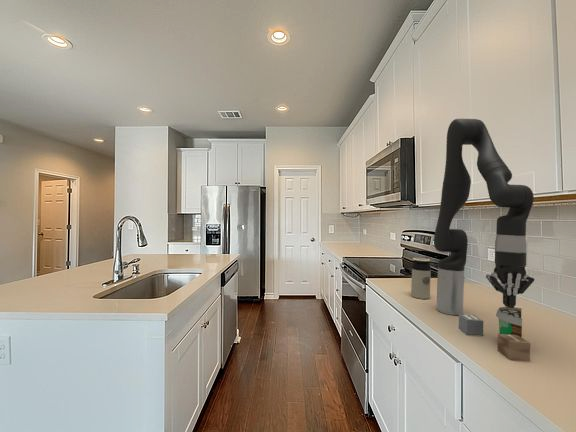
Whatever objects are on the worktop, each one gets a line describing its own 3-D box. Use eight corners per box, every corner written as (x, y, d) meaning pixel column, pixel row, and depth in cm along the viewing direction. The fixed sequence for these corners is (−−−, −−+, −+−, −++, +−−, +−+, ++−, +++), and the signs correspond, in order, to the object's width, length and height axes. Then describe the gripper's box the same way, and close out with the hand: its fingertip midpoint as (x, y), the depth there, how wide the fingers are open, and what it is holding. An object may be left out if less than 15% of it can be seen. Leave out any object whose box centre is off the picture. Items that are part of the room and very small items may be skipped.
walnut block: (497, 351, 80) (498, 333, 80) (515, 352, 79) (516, 334, 79) (509, 360, 75) (510, 341, 75) (529, 361, 74) (530, 342, 74)
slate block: (458, 329, 95) (458, 314, 95) (473, 329, 95) (474, 314, 94) (466, 335, 90) (467, 319, 90) (482, 336, 90) (483, 320, 90)
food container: (496, 333, 91) (497, 303, 91) (520, 339, 88) (521, 308, 87) (493, 347, 82) (494, 313, 82) (521, 354, 78) (522, 319, 78)
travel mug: (408, 294, 135) (409, 257, 135) (425, 294, 135) (426, 257, 135) (415, 299, 127) (416, 260, 127) (433, 299, 127) (434, 260, 127)
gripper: (523, 249, 88) (522, 304, 88) (480, 248, 89) (478, 302, 89) (543, 252, 80) (542, 312, 80) (495, 250, 81) (494, 310, 81)
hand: (509, 306), depth 84 cm, fingers closed
